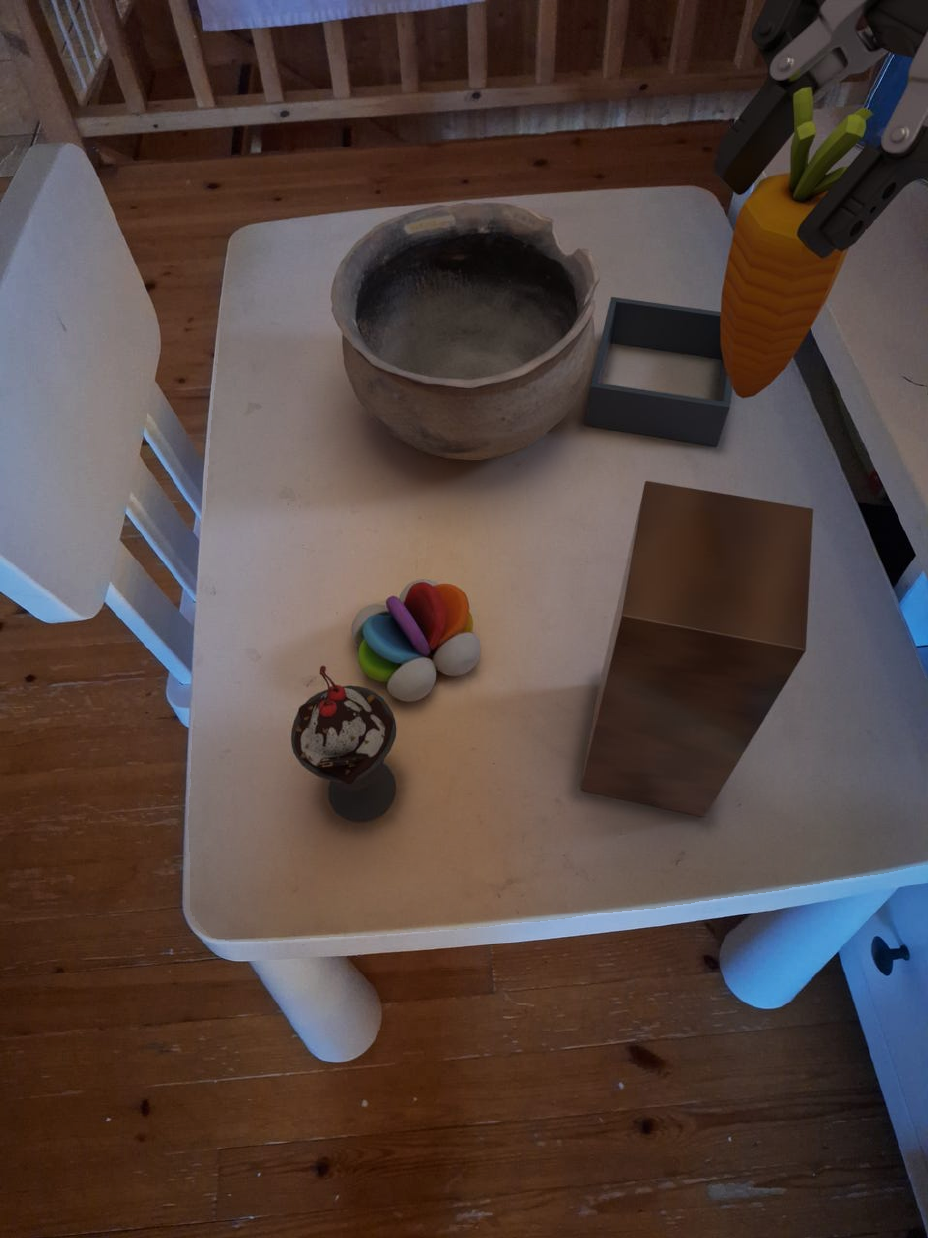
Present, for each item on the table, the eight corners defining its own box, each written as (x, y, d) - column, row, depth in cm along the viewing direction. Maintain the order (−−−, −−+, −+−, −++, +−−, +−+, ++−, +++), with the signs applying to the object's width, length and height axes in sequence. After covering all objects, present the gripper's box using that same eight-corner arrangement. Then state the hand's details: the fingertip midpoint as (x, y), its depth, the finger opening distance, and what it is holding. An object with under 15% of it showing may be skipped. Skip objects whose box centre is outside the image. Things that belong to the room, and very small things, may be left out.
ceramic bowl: (624, 466, 81) (649, 334, 69) (395, 535, 78) (376, 410, 65) (531, 312, 92) (537, 174, 80) (327, 367, 89) (299, 231, 76)
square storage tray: (728, 355, 88) (741, 314, 84) (717, 446, 82) (729, 407, 78) (605, 337, 90) (611, 296, 86) (585, 425, 84) (590, 385, 80)
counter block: (716, 706, 69) (813, 508, 48) (705, 817, 64) (806, 650, 44) (599, 682, 70) (645, 479, 49) (579, 790, 65) (621, 615, 45)
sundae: (354, 730, 68) (323, 628, 55) (425, 778, 66) (410, 683, 53) (297, 799, 65) (251, 708, 53) (369, 851, 63) (339, 769, 51)
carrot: (695, 359, 48) (764, 62, 35) (790, 366, 47) (896, 68, 35) (693, 427, 45) (767, 134, 33) (794, 435, 45) (910, 141, 32)
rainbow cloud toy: (497, 662, 71) (498, 613, 65) (391, 723, 69) (381, 678, 62) (441, 587, 75) (437, 534, 69) (339, 642, 72) (324, 592, 66)
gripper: (952, -400, 30) (615, 90, 37) (1382, -294, 23) (868, 278, 30) (992, -223, 36) (693, 170, 43) (1344, -98, 29) (920, 342, 36)
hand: (768, 212), depth 37 cm, fingers closed on carrot, 4 cm apart
